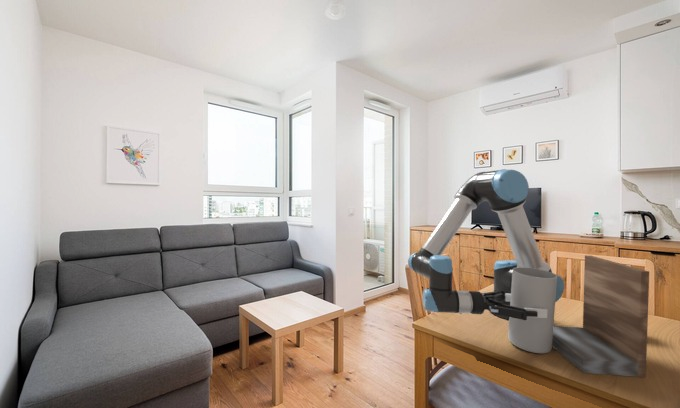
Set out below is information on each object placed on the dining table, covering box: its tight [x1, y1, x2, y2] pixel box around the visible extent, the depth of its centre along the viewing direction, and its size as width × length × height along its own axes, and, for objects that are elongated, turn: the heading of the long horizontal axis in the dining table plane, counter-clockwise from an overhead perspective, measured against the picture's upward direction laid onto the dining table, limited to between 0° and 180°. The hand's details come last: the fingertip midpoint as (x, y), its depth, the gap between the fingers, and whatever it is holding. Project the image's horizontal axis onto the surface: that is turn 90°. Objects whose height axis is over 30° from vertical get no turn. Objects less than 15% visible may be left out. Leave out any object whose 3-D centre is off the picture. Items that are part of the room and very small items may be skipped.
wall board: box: [552, 254, 650, 378], centre depth 93 cm, size 16×22×30 cm
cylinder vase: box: [507, 267, 558, 355], centre depth 98 cm, size 12×12×25 cm
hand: (534, 305), depth 98 cm, fingers open, 13 cm apart
